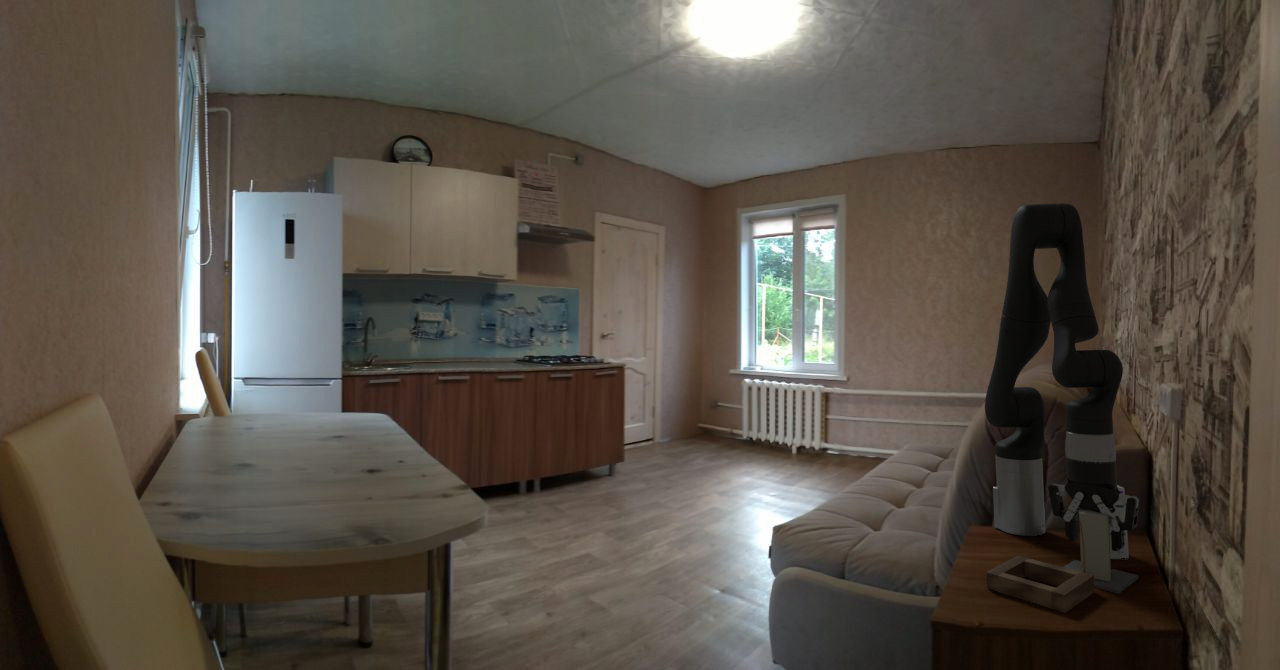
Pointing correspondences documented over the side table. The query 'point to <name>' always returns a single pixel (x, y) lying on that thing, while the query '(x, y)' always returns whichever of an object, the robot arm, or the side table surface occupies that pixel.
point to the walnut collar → (1060, 598)
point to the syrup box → (1121, 510)
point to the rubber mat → (1117, 579)
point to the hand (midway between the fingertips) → (1094, 544)
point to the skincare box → (1095, 544)
